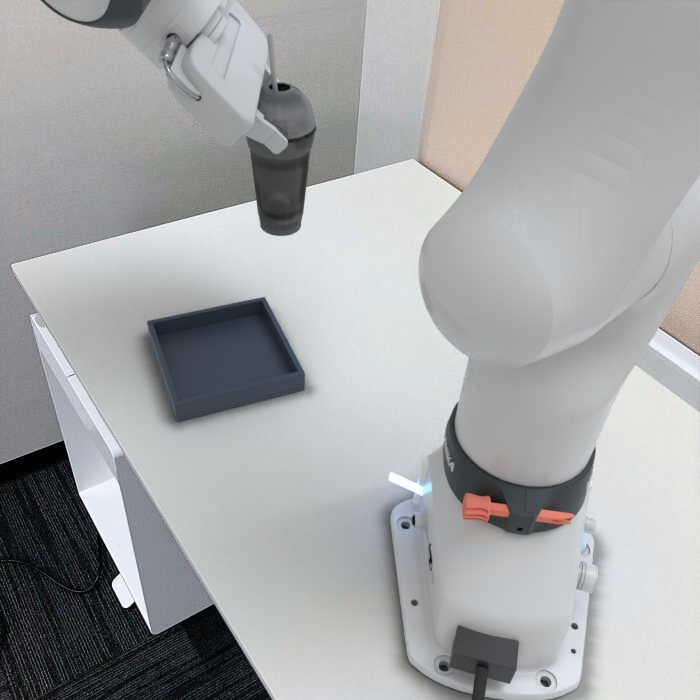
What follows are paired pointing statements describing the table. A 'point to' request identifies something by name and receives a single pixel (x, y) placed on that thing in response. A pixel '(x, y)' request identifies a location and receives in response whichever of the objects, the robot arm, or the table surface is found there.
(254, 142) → the beverage cup
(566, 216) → the robot arm
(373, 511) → the table surface
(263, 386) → the tray
